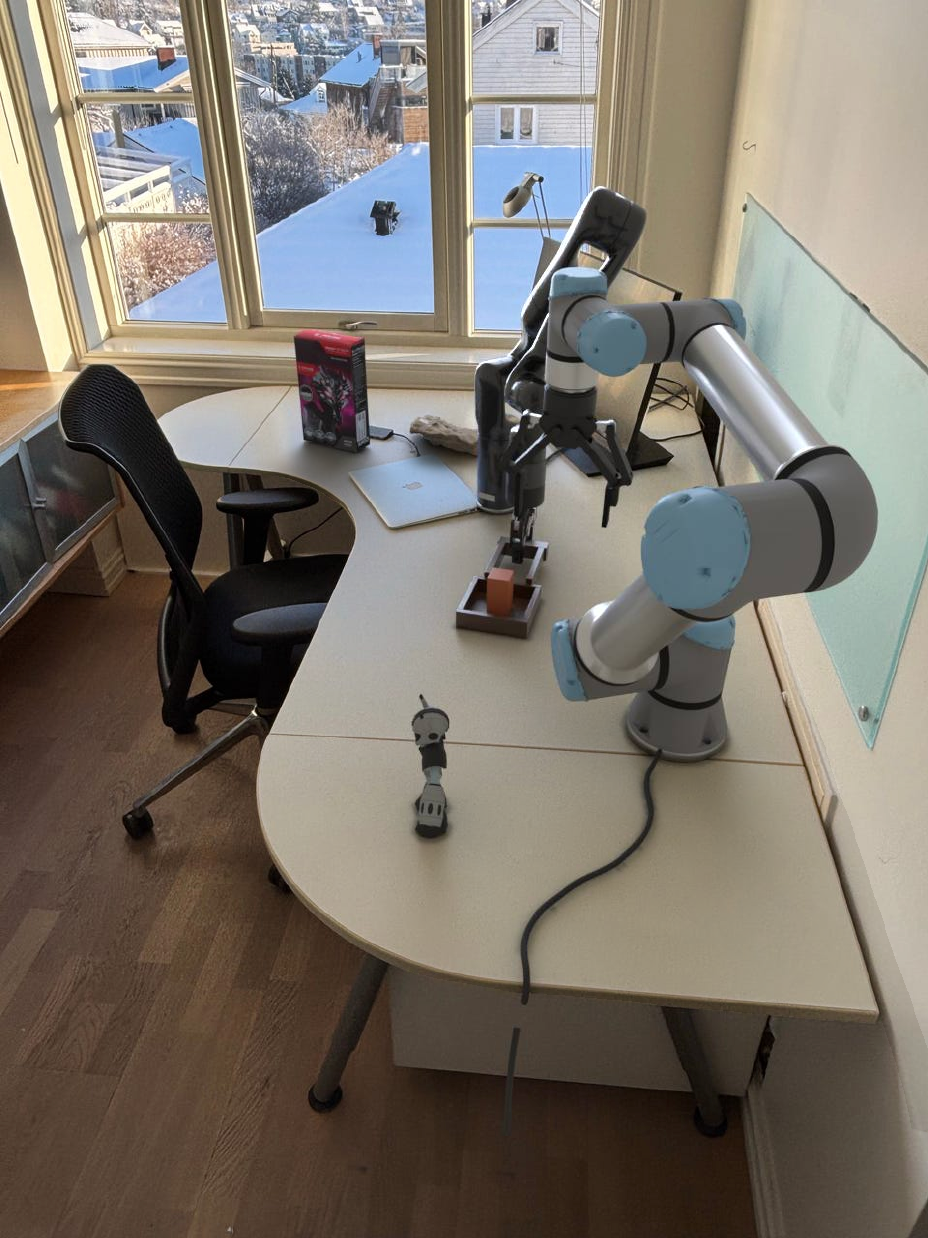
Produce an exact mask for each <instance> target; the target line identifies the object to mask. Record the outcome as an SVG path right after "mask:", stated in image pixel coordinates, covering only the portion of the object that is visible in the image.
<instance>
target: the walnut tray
mask: <svg viewBox="0 0 928 1238" xmlns="http://www.w3.org/2000/svg"><path fill="white" fill-rule="evenodd" d="M515 541H519V542H520V539H518V538H516V540H515ZM509 544H510V536H503V535H500V536H499V538H498V540H497V546H496V548H495V550H494V552H493V554H492V556H491V558H490V560H489V562H488V564H487V566H486V567H485V568H486V569H485V571H484V573H483V574H484V576H482V575H474V576H473V578H472V579H471V581H470V584H468V588H467V589H466V591H465V592H464V595H463V597H462V599H461V601H460V603H459V605H458V606H457V609H456V611H455V628H456V629H462V630H469V631H474V632H481V633H486V634H493V635H499V636H506V637H512V638H517V639H525V640H527V639H528V636H529V634H530V631H531V628H532V625H533V623H534V620H535V617H536V615H537V612H538V610H539V607H540V604H541V603H542V602H541V601H542V588H543V586H542V584H536V583H537V579H538V578H539V575H540V572H541V569H542V567H543V565H544V562H547V560H548V557H549V550H550V548H549V547H550V542H548V541H540V540H539V541H538V540H533V539H532V540H525V547H524V559H528V560H532V563H531V565H530V567H529V570H528V572H527V574H526V577H525V582H521V581H515V580H514V583H513V605H512V609H511V612H510V614H509V616H508V617H507V616H501V615H494V614H488V613H486V612H487V578H488V576H489V574H490V572H491V570H492V568H493V567H494V568H500V567H501V564H502V562H503V560H504V558H505V556H506V557H512V548H509Z"/></svg>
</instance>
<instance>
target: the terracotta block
mask: <svg viewBox="0 0 928 1238" xmlns="http://www.w3.org/2000/svg"><path fill="white" fill-rule="evenodd" d="M514 578H515V570H513V569H506V568H500V567H499V568H494V567H493V568H492V570H491V572H490V574H489V576H488V578H487V612H486V613H488V614H494V615H501V616H507V617H508V616H509V614H510V612H511V609H512V605H513V583H514V581H515V579H514Z"/></svg>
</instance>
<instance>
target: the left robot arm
mask: <svg viewBox="0 0 928 1238" xmlns="http://www.w3.org/2000/svg"><path fill="white" fill-rule="evenodd" d="M647 221H648V213H647V210H646V208H644V207H643V206H641V205H640V204H638V203H636V202H635V201H632V200H631V199H629V198H627V197H625V196H623V194H620V193H618V192H616V191H614V190H613V189H611V188H609V187H606V186H603V185H598V186H596V187H595V188H594V189H592V190H591V191H590V192H589V193H588V195H587V196H586V197H585V200H584V201H583V203H582V204H581V206H580V208H579V210H578V212H577V213H576V215H575V217H574V218H573V221H572V223H571V226H570V227H569V229H568V231H567V233H566V234H565V237H564V239H563V241H562V242H561V244H560V246H559V249H558V250H557V252H556V253H555V256H554V257H553V259H552V260H551V262H550V263H549V265H548V266H547V268H546V270H545V271H544V273H543V274H542V276H541V277H540V279H539V280H538V282H537V283H536V285H535V286H534V288H533V290H532V291H531V293H530V294H529V296H528V298H527V300H526V301H525V303H524V305H523V308H522V310H521V314H520V325H521V334H522V335H521V337H520V339H519V341H518V342H517V344H516V345H515V347H514V348H513V349H511V351H510V352H509V353H508V354H506V355H502V356H499V357H496V358H491V359H488V360H485V361H482V362H480V363H479V364H478V365H477V366H476V369H475V371H474V377H473V396H474V401H473V402H474V417H475V421H476V424H477V430H478V456H477V462H476V463H477V465H476V466H477V467H476V470H477V471H476V478H477V479H476V499H477V501H478V502H479V503H480V504H481V505H482V506H481V507H480V506H479V505H478V504H477V502H476V501H475V504H476V507H477V508H478V509H479V510H480V511H482V512H484V513H489V514H495V515H503V514H508V513H511V512H512V515H511V516H512V517H511V520H510V522H509V524H510V528H509V537H510V544H509V548H512V556H511V563H512V564H516V565H523V563H524V561H525V558H524V547H525V540H533V538H534V526H535V525H536V520H537V518H538V515H537V512H538V507H541V506H542V505H543V504H544V502H545V498H546V497H545V495H546V483H547V481H546V479H547V462H549V461H550V460H551V459H552V458H553V457H555V456H556V455H558V453H560V452H562V451H563V450H564V449H566V448H567V447H561V448H560V447H558V449H556V450H554V452H552V453H551V454H550V455H549V456H547V446H546V447H545V448H544V449H542V450H541V451H540V452H539V453H538V454H537V455H536V456H535V457H534V458H533V459H532V460H531V461H530V462H529V463H528V464H527V465H525V466H524V467H523V468H522V469H521V470H523V471H524V485H523V506H522V511H521V513H520V515H519V516H514V502H515V494H510V493H509V491H508V489H509V474H508V473H507V472H506V471H503V470H502V471H500V470H498V468H497V465H498V463H499V462H500V460H501V458H502V456H503V455H504V453H505V451H506V450H507V448H508V446H509V445H510V443H511V441H512V440H513V438H514V436H515V435H516V433H517V431H518V430H519V426H520V420H521V419H520V418H519V417H517V416H516V415H514V414H511V413H508V412H506V404H507V405H508V406H509V407H510V408H512V409H513V410H515V411H516V412H518V413H519V414H521V416H522V415H523V413H524V411H525V410H527V409H529V410H531V411H532V413H534V414H539V415H542V413H543V404H544V387H545V385H546V384H547V382H546V381H545V368H546V352H547V337H548V317H549V300H548V298H549V296H550V288H551V280H552V276H553V275H554V273H555V272H556V271H558V270H560V269H564V268H571V267H580V255H581V248H582V247H583V245H587V246H590V247H591V248H593V249H595V250H597V251H599V252H601V253H602V254H604V255H606V259H605V261H604V262H603V264H602V265H601V266H600V268H599V270H600V271H602V272H603V273H604V274H605V275H606V277H607V291H608V292H609V290H610V289H611V288H612V285H613V284H614V283H615V281H616V279H617V278H618V276H619V274H620V272H621V271H622V270H623V268H624V267H625V265H626V263H627V262H628V260H629V259H630V257H631V256H632V254H633V251H635V249H636V247H637V245H638V244H639V242H640V240H641V238H642V235H643V233H644V231H645V228H646V224H647ZM687 388H688V385H684V386H682V388H680V389H678V391H676V392H675V393H673V394H672V395H670V396H668V397H666V398H665V399H663V400H660V401H659V402H656V403H655V404H652V405H650V406H648V407H649V410H651V409H654V408H656V407H658V406H660V405H662V404H664V403H666V402H668V401H669V400H671V399H673V398H675V397H676V396H678V395H680V394H681V393H682V392H683V391H685V390H686V389H687ZM543 434H544V431H543V430H542V428H541V427H540V425H539V423H537V424H535V425H534V427H533V428H531V429H529V428H528V430H527V432H526V434H525V436H524V437H523V439H522V441H521V442H520V444H519V446H518V447H517V449H516V451H515V452H514V454H513V456H512V457H511V459H510V461H511V462H515V461H516V460H517V459H518V458H519V457H520V456H521V455H522V454H523V453H524V452H525V451H526V450H527V449H529V448H530V447H531V446H532V445H533V444H534V443H535V442H536V441H537V440H538V439H539V438H540V437H541V436H542V435H543ZM516 538H518V539H520V542H519V541H515V540H516Z"/></svg>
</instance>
